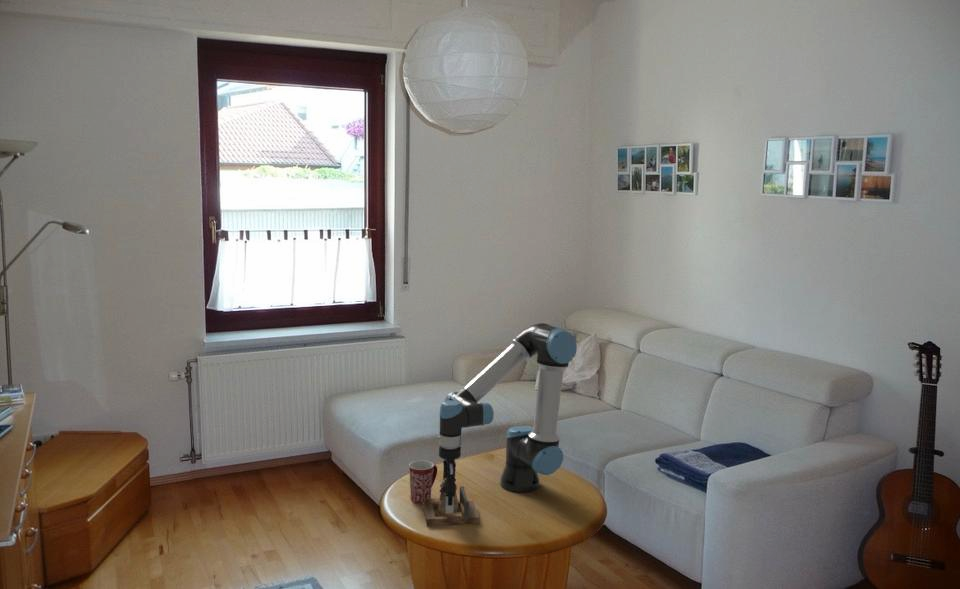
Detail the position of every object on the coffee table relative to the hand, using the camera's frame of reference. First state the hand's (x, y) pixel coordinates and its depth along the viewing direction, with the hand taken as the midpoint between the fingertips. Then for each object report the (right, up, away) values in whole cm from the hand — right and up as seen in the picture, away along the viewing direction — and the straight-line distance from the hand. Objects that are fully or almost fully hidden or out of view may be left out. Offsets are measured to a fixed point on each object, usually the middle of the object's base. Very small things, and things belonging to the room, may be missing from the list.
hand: (448, 508), depth 278 cm
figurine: (0, -1, 0) cm, 1 cm away
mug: (-10, -1, +15) cm, 18 cm away
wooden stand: (+1, -3, +1) cm, 3 cm away
